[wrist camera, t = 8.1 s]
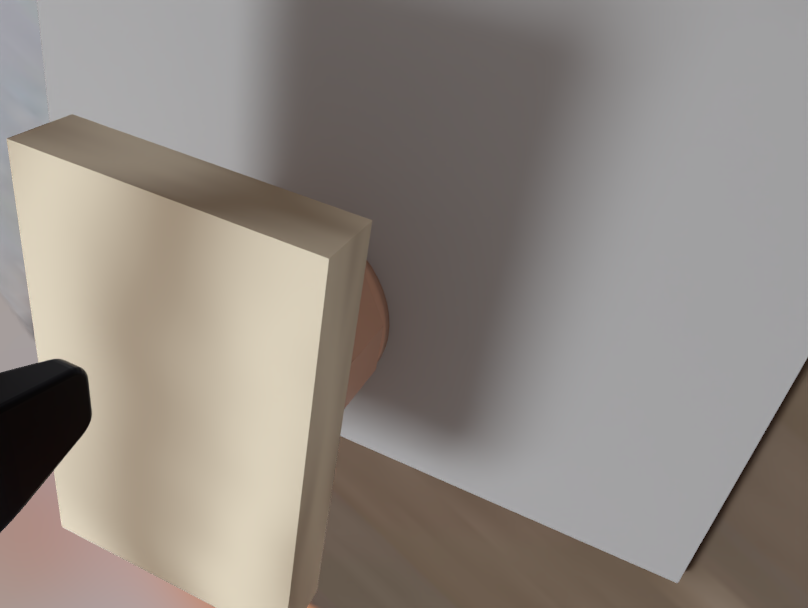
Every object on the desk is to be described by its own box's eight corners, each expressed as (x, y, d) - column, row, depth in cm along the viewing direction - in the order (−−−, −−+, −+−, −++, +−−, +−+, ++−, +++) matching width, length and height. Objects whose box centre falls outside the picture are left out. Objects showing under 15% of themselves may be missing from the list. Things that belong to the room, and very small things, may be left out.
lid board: (372, 219, 15) (329, 259, 14) (317, 591, 22) (283, 642, 21) (72, 114, 17) (6, 138, 16) (105, 486, 24) (62, 526, 22)
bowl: (404, 248, 21) (323, 332, 17) (374, 413, 24) (301, 512, 20) (215, 180, 22) (104, 243, 19) (211, 344, 26) (117, 424, 22)
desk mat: (1320, -551, 10) (1338, -565, 10) (679, 573, 23) (677, 583, 22) (-15, -628, 15) (-32, -636, 15) (78, 312, 28) (70, 317, 28)
